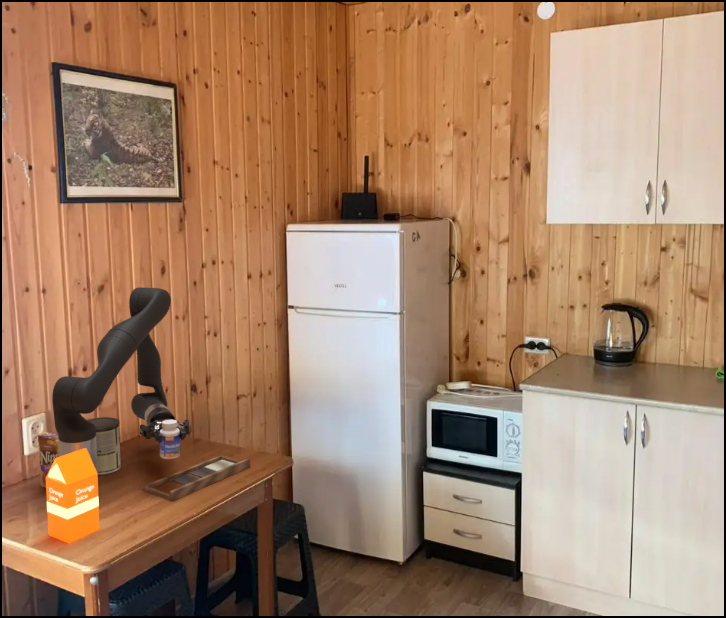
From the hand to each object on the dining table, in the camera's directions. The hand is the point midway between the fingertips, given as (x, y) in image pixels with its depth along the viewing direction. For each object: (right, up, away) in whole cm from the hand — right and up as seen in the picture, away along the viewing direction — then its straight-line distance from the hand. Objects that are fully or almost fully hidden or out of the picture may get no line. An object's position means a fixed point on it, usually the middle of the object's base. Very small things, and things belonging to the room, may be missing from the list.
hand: (171, 437), depth 197 cm
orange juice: (-18, -19, -21) cm, 33 cm away
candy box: (-33, -15, +4) cm, 36 cm away
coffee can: (-25, -13, +19) cm, 34 cm away
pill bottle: (-1, -6, +3) cm, 7 cm away
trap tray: (+4, -14, +13) cm, 20 cm away
